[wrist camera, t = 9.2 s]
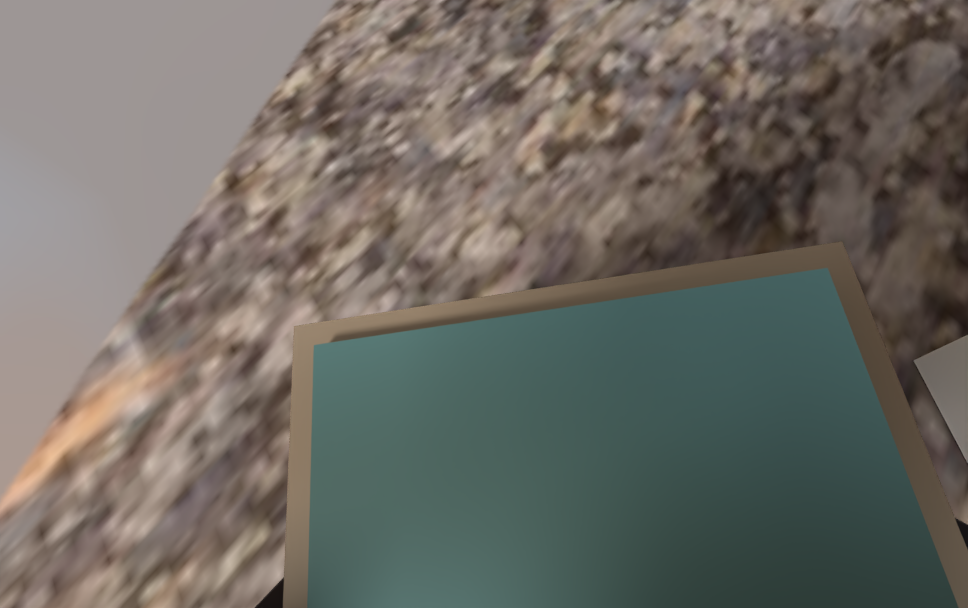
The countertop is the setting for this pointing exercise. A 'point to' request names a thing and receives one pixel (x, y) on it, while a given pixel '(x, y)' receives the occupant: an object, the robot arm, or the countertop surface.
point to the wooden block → (618, 450)
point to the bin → (949, 386)
